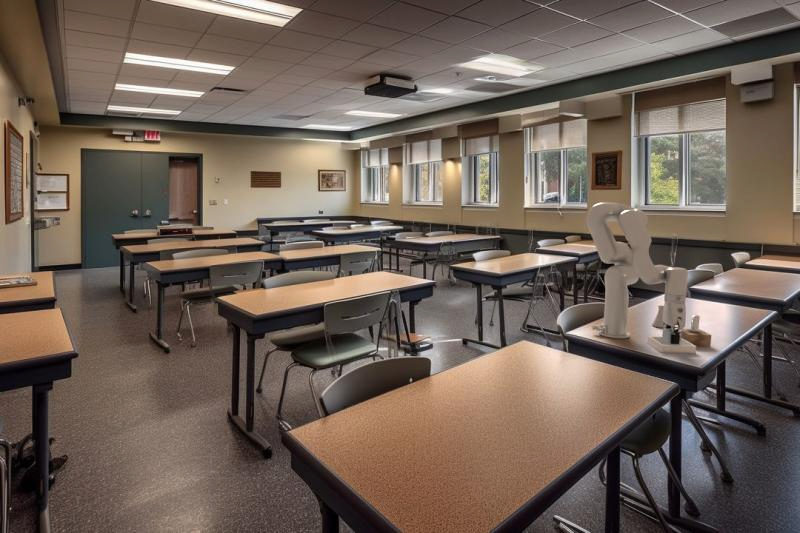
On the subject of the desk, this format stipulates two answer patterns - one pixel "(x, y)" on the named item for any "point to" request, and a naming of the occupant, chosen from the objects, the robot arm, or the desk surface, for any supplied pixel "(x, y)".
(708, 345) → the block
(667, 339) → the block
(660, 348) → the tray
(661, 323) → the flask
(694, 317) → the pin gauge
